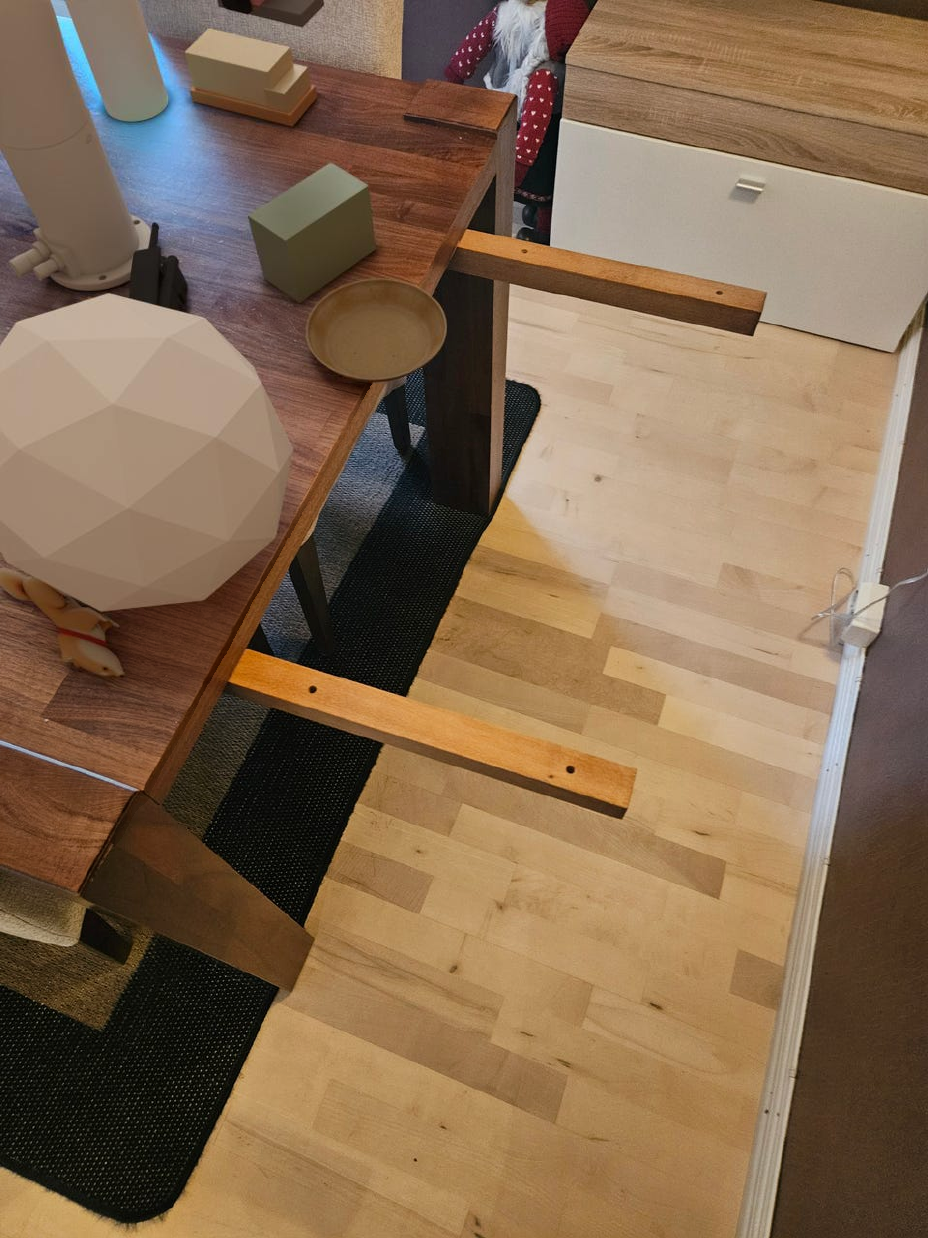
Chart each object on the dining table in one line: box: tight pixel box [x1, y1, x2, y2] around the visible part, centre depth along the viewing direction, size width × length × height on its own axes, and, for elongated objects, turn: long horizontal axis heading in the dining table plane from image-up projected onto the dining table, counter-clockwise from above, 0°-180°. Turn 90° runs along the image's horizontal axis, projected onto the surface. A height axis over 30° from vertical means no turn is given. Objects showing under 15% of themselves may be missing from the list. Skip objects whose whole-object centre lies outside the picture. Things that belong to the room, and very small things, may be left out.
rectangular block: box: [247, 162, 377, 304], centre depth 93 cm, size 12×6×8 cm, turn 137°
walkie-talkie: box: [128, 221, 189, 313], centre depth 92 cm, size 6×6×20 cm
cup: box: [64, 0, 169, 122], centre depth 104 cm, size 8×8×16 cm
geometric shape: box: [0, 292, 294, 612], centre depth 67 cm, size 24×25×25 cm
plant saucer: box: [305, 277, 448, 383], centre depth 89 cm, size 15×15×3 cm
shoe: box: [184, 27, 318, 127], centre depth 109 cm, size 15×7×6 cm, turn 67°
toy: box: [0, 567, 125, 679], centre depth 73 cm, size 3×17×5 cm
